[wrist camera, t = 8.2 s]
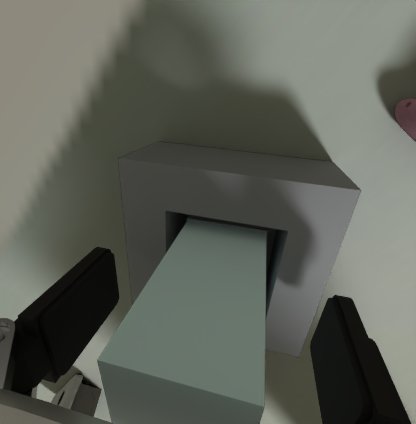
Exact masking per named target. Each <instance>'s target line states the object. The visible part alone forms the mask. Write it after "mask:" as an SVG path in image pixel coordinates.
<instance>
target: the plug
mask: <svg viewBox="0 0 416 424" xmlns="http://www.w3.org/2000/svg"><path fill="white" fill-rule="evenodd" d="M267 232H268V228H267V227H261V226H255V225H249V224H243V223H237V222H231V221H225V220H219V219H213V218H207V217H201V216H195V215H189V217H188V218H187V222H186V224H185V225H184V227H183V228H182V230H181V231H180V233H179V234H178V236H177V237H176V239H175V241H174V242H173V244H172V245H171V247H170V248H169V250H168V251H167V253H166V254H165V256H164V258H163V259H162V261H161V262H160V264H159V265H158V267H157V268H156V270H155V271H154V273H153V275H152V276H151V278H150V279H149V281H148V282H147V284H146V285H145V287H144V288H143V290H142V291H141V293H140V295H139V296H138V298H137V299H136V301H135V302H134V304H133V305H132V307H131V308H130V310H129V312H128V313H127V315H126V316H125V318H124V319H123V321H122V322H121V324H120V325H119V327H118V329H117V330H116V332H115V333H114V335H113V336H112V338H111V339H110V341H109V342H108V344H107V345H106V347H105V349H104V350H103V352H102V353H101V355H100V356H99V358H98V359H97V362H98V366H99V370H100V374H101V379H102V383H103V387H104V391H105V396H106V400H107V404H108V408H109V413H110V417H111V421H112V423H113V424H260V420H261V417H262V414H263V410H264V405H265V317H266V237H267Z"/></svg>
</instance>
